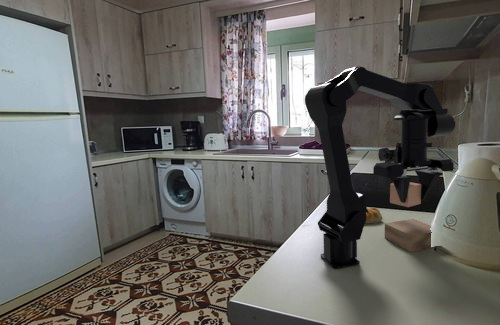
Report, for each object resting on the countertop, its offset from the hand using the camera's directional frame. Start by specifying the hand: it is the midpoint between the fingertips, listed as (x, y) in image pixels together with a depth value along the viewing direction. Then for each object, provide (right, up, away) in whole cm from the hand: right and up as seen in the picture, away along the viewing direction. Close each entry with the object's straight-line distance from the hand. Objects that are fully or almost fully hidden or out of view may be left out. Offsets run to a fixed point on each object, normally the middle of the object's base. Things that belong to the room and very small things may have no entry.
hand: (412, 201), depth 73 cm
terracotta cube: (-1, -1, +2) cm, 2 cm away
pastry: (-4, -9, +18) cm, 21 cm away
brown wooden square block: (+1, -11, +1) cm, 11 cm away
